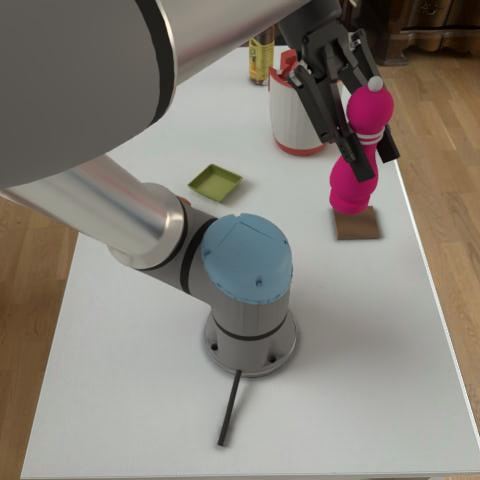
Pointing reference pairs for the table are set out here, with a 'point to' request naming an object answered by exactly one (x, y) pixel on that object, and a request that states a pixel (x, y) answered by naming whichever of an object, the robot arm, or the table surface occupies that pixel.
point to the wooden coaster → (356, 225)
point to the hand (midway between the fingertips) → (379, 169)
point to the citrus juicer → (290, 111)
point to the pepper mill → (369, 133)
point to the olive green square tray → (215, 182)
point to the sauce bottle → (261, 55)
